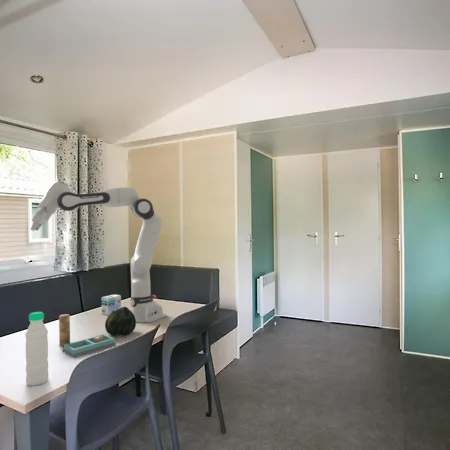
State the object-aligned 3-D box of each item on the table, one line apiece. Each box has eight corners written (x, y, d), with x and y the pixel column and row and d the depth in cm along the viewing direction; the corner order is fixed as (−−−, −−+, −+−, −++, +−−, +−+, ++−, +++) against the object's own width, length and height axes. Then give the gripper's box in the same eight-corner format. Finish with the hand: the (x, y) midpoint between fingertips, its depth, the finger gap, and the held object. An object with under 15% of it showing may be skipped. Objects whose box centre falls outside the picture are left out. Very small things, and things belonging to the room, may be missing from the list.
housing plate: (104, 339, 165) (104, 332, 165) (116, 344, 157) (115, 337, 157) (62, 351, 150) (62, 343, 150) (73, 357, 142) (72, 349, 142)
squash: (100, 321, 176) (107, 303, 169) (127, 317, 185) (135, 300, 178) (106, 345, 168) (113, 327, 160) (135, 340, 177) (143, 323, 169)
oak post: (67, 342, 161) (67, 313, 161) (71, 344, 158) (71, 315, 158) (58, 345, 158) (57, 315, 158) (61, 347, 155) (61, 317, 155)
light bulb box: (108, 315, 209) (107, 298, 209) (101, 314, 213) (100, 297, 213) (121, 311, 218) (121, 295, 218) (114, 310, 222) (114, 294, 222)
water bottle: (53, 379, 123) (51, 311, 123) (36, 387, 116) (35, 316, 116) (38, 376, 125) (37, 309, 125) (21, 385, 119) (20, 314, 119)
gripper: (49, 209, 174) (35, 233, 172) (55, 211, 194) (43, 232, 192) (37, 203, 173) (23, 227, 171) (45, 206, 192) (32, 227, 190)
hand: (34, 230), depth 181 cm, fingers open, 8 cm apart
